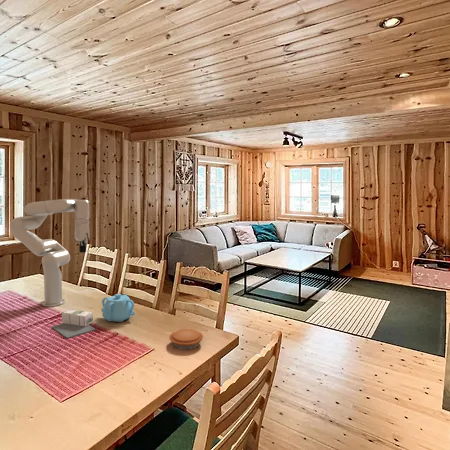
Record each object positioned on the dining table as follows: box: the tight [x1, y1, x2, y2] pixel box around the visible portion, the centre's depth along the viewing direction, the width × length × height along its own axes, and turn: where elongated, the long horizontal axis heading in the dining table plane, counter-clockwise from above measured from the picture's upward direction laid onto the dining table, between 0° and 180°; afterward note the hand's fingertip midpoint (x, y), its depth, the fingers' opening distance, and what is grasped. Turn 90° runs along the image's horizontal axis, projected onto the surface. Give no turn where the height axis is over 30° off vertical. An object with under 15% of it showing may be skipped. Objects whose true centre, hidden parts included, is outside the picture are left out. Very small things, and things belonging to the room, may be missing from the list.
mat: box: [51, 323, 96, 339], centre depth 167 cm, size 18×14×1 cm
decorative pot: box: [100, 293, 136, 323], centre depth 182 cm, size 16×16×14 cm
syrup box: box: [61, 308, 94, 326], centre depth 173 cm, size 6×6×14 cm
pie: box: [169, 328, 204, 350], centre depth 155 cm, size 16×16×5 cm
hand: (82, 252), depth 195 cm, fingers closed
